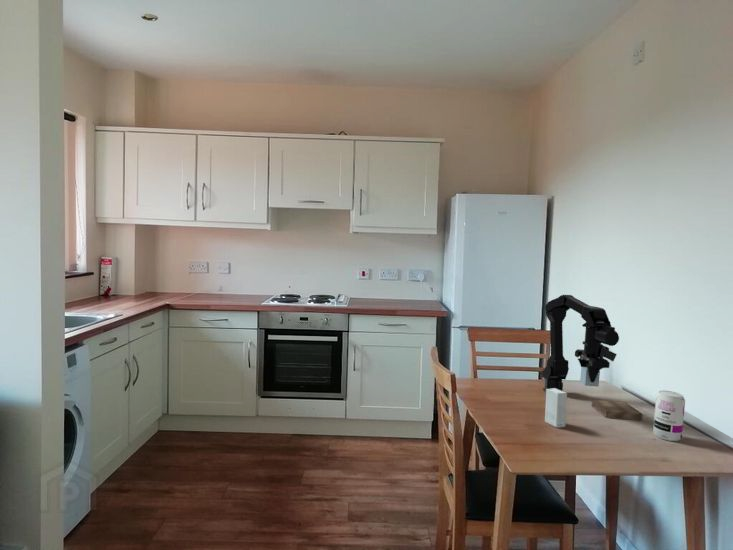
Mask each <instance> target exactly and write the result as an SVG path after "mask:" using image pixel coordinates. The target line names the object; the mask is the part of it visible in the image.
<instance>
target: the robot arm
mask: <svg viewBox="0 0 733 550" xmlns="http://www.w3.org/2000/svg"><path fill="white" fill-rule="evenodd" d="M544 309H545V310H544V311H545V316H546V318H547V319H548V321H549V333H550V334H549V336H550V338H549V339H550V356H549V357H548V359H547V360H546V367H545V368H544V369H543V370H542V371H541V377H542V378H544V388H542V390H543V391H544V392H545V393H546V389H551V388H556V389H558V390H561V391H563V390H564V383H563V380H566V379H567V376H568V374H569V370H570V368H569V360H567V359H566V358H565V356H564V344H563V343H564V340H563V338H564V337H563V335H564V333H563V322H564V320H565V319H566V317H567V311H569V310H570V309H571V310H573V311H574V312H577V313H578V314H580V317H581V318H582V320H583V321H585V322H584V323H583V324H582V327H583V328H585V333H584V340H582V345H583V349H576V350H575V352H574V356H575V357H576V358H577V361H578V363H579V365H580V367H587V369H588V373H589V377H590V381H591V382H594V381H595V379H596V377H597V374H598V372H599V371H600V370H602V369H610V366H611V364H610V363H611V362H614V361H615V359H616V357H617V353H615V352H613V351H611V350H610V348H609V347H608V346H610V347H613V346H616V345H617V344H618V343H619V340H620V336H619V333H618V332H617V331H616V328H615V327H614V326H612V324H611V321H610V320H609V317H608V314H607V311H606V309H604V308H603V307H599V306H594V305H589V304H587V303H586V302H583V301H582V300H580V299H578V298H576V297H575V296H573V295H572V294H562V295H559V296H558V297H556V298H554V299H552V300H550V301H547V303H546V304H545V306H544ZM610 361H611V362H610ZM563 392H564V391H563Z"/></svg>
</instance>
